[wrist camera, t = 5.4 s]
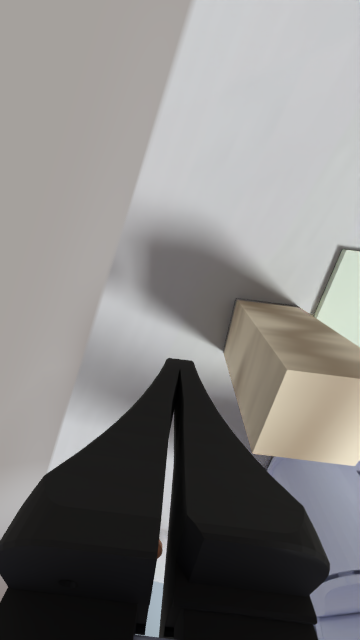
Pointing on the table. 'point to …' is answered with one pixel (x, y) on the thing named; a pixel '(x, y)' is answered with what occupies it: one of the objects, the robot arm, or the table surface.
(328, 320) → the mat
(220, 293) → the table surface
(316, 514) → the robot arm
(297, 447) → the maple block
